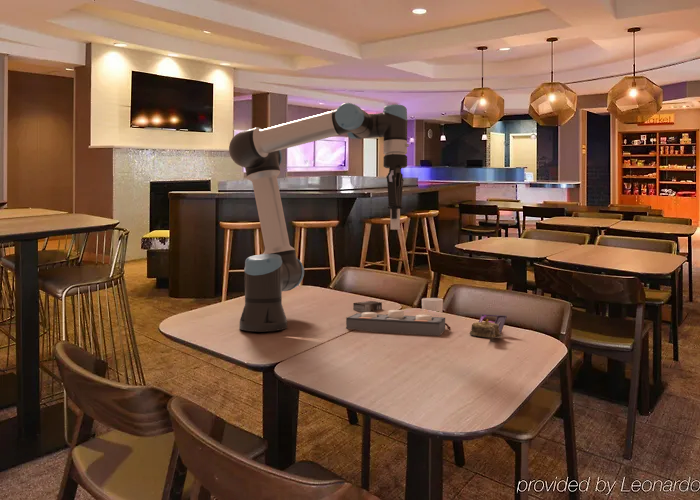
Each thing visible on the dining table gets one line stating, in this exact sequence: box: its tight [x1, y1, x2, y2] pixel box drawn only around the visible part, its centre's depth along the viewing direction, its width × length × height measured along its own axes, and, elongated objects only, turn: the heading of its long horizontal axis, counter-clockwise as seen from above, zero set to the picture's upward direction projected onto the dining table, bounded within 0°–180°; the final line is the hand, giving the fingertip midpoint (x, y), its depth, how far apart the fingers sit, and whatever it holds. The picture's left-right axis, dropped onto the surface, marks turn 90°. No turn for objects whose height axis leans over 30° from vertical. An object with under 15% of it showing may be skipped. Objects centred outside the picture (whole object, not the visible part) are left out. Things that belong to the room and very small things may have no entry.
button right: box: [415, 314, 433, 321], centre depth 175 cm, size 5×5×3 cm
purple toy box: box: [478, 313, 508, 335], centre depth 177 cm, size 7×5×9 cm
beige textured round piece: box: [469, 318, 504, 339], centre depth 169 cm, size 10×10×5 cm
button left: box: [361, 311, 378, 318], centre depth 181 cm, size 5×5×3 cm
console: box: [345, 312, 446, 337], centre depth 178 cm, size 30×11×4 cm, turn 71°
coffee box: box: [352, 300, 383, 314], centre depth 202 cm, size 9×6×16 cm
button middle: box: [387, 309, 405, 320], centre depth 178 cm, size 5×5×3 cm
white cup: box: [421, 297, 444, 313], centre depth 206 cm, size 8×8×10 cm
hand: (395, 229), depth 176 cm, fingers closed
